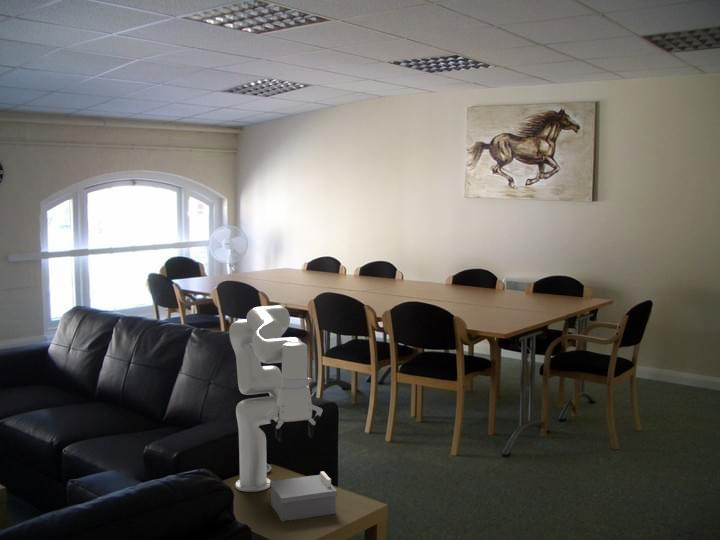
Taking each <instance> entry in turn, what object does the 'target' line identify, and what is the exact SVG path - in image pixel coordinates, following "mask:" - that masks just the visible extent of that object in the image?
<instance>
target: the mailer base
mask: <svg viewBox="0 0 720 540" xmlns="http://www.w3.org/2000/svg"><path fill="white" fill-rule="evenodd" d="M270 490H271V493H270V496H271V499H270V501H271V502H270V503H271V506H272V508H273V510H274V509H275V510H274V511H275V513H276V512H277V513H276V515H277V514H278V515H279V516H278V515H277V516H278V518H279V517H280V518H279V519H280V521H281V520H282V521H281V522H287V521H286V520H289V521H294V520H300V519H301V520H302V519H307V518H314V517H321V516H327V515H328V516H329V515H333V514H334V515H335V514H336V513H337V512H336V511H337V508H336V507H337V505H336V504H337V503H336V502H337V501H336V500H337V498H336V496H337V495H336V496H329V497H322V498H316V499H309V500H302V501H295V502H288V503H281V499H280V497H279V496H278V494H277V493H276V491H275V490H274V488H273V487H272V485H271V486H270Z"/></svg>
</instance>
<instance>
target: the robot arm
mask: <svg viewBox="0 0 720 540" xmlns="http://www.w3.org/2000/svg"><path fill="white" fill-rule="evenodd" d="M290 322H291V316H290V313H289V310H288V309H287V308H286V307H285V306H283V305H264V306H262V305H261V306H256V307H253V308H251V309H250V310H249V311H248V312H247V314H246V318H245V319H240V320H236V321H234V322H232V323H231V324H230V326H229V341H230V344H231V346H232V349H233V351H234V354H235V359H236V362H235V363H236V370H237V371H236V372H237V373H236V375H237V384H238V390H239V392H240V393H241V394H242V395H245V396H246V395H247V396H249V395H251V396H252V395H260V394H269V395H268V396H262V397H261V396H260V397H259V396H258V397H252V398H246V399H243V400H241V401H239V402H238V403H237V405H236V407H235V415H236V421H237V428H238V448H239V449H238V451H239V455H238V456H239V460H238V461H239V462H238V463H239V479H238V480H237V481H235V488H236V489H237V490H238V491H241V492H245V493H256V492H261V491H262V492H263V491H266V490H268V489H269V488H271V486H270V481H271V479H270V478H268V477H267V475H268V474H267V473H268V472H267V466H266V463H267V438H266V437H267V436H266V434H265V432H264V430H262V429H261V428H260V427H259V426H264V425H268V424H271V425H272V426H274V428H275V429H274V430H275V432H274V435H275V439H277V441H278V442H282V441H283V440H282V438H283V435H282V434H283V433H282V430H283V429H282V428H281V427H282V425H283V424H284V423H288V422H290V423H291V422H300V421H308V423H307V435H308V437H309V438H310V439H313V438H314V437H313V436H314V435H315V426H316V425H317V424H316V423H317V422H318V420H320V418H321V417H322V413H323V411H324V410H323V408H322V407H319V406H317V405H314V404H313V403H312V396H311V391H310V390H311V389H310V386H309V384H310V383H312V378H311V377H308V350H307V344H306V343H304V342H302V340H301V339H300V338H299V337H296V336H293V337H292V336H288V337H282V336H283V335H284V334H285V333H286V331H287V329H288V328H289V327H290V324H291V323H290ZM261 363H263V364H265V365H263V366H262V364H261ZM279 363H281V369H280V368H279V367H278V366H276V365H266V364H279ZM313 411H315V412H316V413H315V415H313Z"/></svg>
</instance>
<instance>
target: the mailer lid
mask: <svg viewBox="0 0 720 540" xmlns="http://www.w3.org/2000/svg"><path fill="white" fill-rule="evenodd" d="M271 485H272V487H273V488H274V490H275V491H276V493H277V494H278V496H279V497H280V499H281V503H288V502H295V501H302V500H309V499H316V498H322V497H329V496H338V490H337V489H336V488H335V486H333V484H332V478H330V477H329V476H328V474H327V473H326V472H325V471H324V470H323V471H320V472H319V474H317V475H315V474H314V475H307V476H301V477H291V478H286V479H285V478H284V479H276V480H270V487H271Z"/></svg>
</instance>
